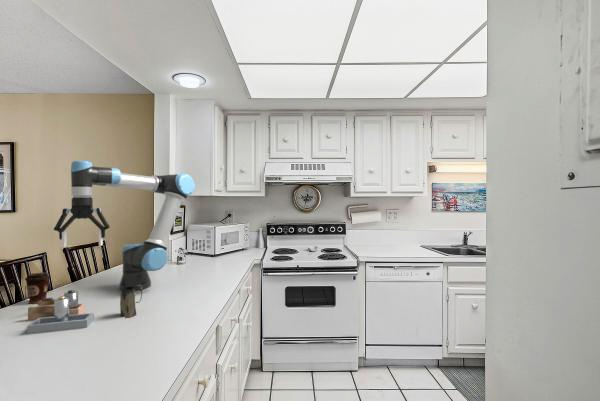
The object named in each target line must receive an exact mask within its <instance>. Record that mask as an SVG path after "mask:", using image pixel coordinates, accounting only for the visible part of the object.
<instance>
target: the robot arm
mask: <svg viewBox="0 0 600 401" xmlns="http://www.w3.org/2000/svg"><path fill="white" fill-rule="evenodd" d="M70 178H71V179H70V180H71V181H70V182H71V185H70V186H71V190H70V191H71V197H72V198H71V208H63V209H62V212H61V216H60V217H59V219H58V221H57V223H55V226H54V228H53V231H56V232H58V235H59V236H58V237H59V240H61V248H67V247H68V245H67V244H68V242H67V239H68V238H67V236H68V234H67V231H65V230H67V228H69V226H70V225H72V224H73V222H74V221H75V220H76V219H77V220H80V219H83V220H84V219H85V220H86V219H89V220H90V221H91V222H93V224H94V225H95V226H96V227H97V228H98V229H99V230H98V246H99V247H101V246H103V241H104V240H103V239H104V238H105V237H106V230H108V229H110V224H109V223H108V221H107V219H106V218H105V215H103V213H102V207H97V208H94V206H93V202H94V201H93V200H94V199H93V197H92V196H93V186H102V187H113V188H115V187H116V188H123V189H124V188H125V189H135V190H146V191H149V192H150V193H156V194H162V195H164V196H165V198H164V200H163V203H162V206H161V208H160V211H159V213H158V215H157V218H156V220H155V223H154V225H153V227H152V230H151V233H150V235H149V237H148V239H146V240H144V242H143V243H142V242H141V243H135V244H134V243H133V244H125V245H123V247H122V251H121V252H122V275H121V278H120V282H119V286H118V287H119V288H118V289H119V290H120V291H121V289H122V288H125V287H135V286H136V285H141V286H142V290H144V289H147V288H148V289H149V287H151V286H152V280H151V278H150V275H149V272H156V271H159V270H162V268H164V267H165V266H166V264H167V263H168V259H169V257H168V252H167V249H168V246H167V242H168V239H169V236H170V235H171V234H170V233H171V231H172V229H173V226H174V225H175V224H174V223H175V221H176V218H177V215H178V213H179V211H180V208H181V205H182V204H183V202H186V200H187V197H188V196H189V195H192V194H193V192H195V188H196V185H195V182H194V179H193V178H192V176H191V175H189V174H187V173H177V174H165V175H155V174H153V175H151V176H148V175H141V174H135V173H134V174H133V173H125V172H121V170H120V169H119V168H117V167H105V166H103V167H102V166H101V167H100V166H93V163H92V162H91V160H90V161H88V160H74V161H73V160H72V161H71V166H70ZM70 213H71V214H72V215H71V216H70V217H69V219H68V220H67V221H66V222H65V220H66V219H67V216H68V214H70ZM93 213H96V215H97V216H98V218H99V219H100V220H98V219H96V217H95V216H94V215H93ZM100 221H101V222H100ZM64 222H65V223H64ZM63 223H64V224H63ZM139 290H140V291H141V287H140V286H136V287H135V291H139Z"/></svg>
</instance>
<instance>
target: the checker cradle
mask: <svg viewBox="0 0 600 401" xmlns="http://www.w3.org/2000/svg"><path fill="white" fill-rule="evenodd" d="M55 299H56V298H55ZM55 299H54V298H53V297H46V298H44V299H42V300H40V301H38V303H37V305H36V306H35V305H34V306H32V305H31V306H29V307H27V319H26V320H25V321H26V322H34V321H35V320H36V319H38V318H44V317H54V300H55Z"/></svg>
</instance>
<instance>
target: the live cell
mask: <svg viewBox="0 0 600 401" xmlns="http://www.w3.org/2000/svg"><path fill="white" fill-rule="evenodd" d="M54 316H55V322H64V321H70V319H69V297H65V296H64V295H61V296H58V298H55V300H54Z"/></svg>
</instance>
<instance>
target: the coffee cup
mask: <svg viewBox="0 0 600 401" xmlns="http://www.w3.org/2000/svg"><path fill="white" fill-rule="evenodd" d="M49 279H50V275H49V274H48V272H36V273H29V274H27V276H26V278H25V279H24V280H25V281H26V291H27V297H28V299H29V300H28V304H30V305H31V304H33V305H34V304H38V301H40V300H42V299H44V298H47V294H48V287H49V286H48V285H49V284H48V283H49Z"/></svg>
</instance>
